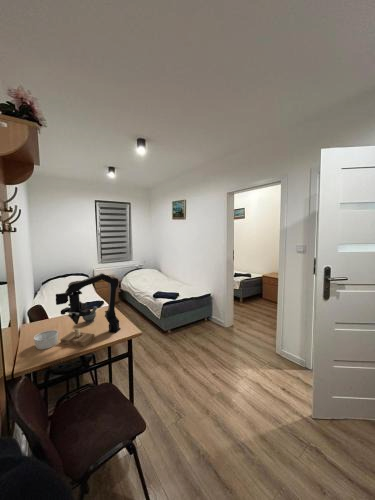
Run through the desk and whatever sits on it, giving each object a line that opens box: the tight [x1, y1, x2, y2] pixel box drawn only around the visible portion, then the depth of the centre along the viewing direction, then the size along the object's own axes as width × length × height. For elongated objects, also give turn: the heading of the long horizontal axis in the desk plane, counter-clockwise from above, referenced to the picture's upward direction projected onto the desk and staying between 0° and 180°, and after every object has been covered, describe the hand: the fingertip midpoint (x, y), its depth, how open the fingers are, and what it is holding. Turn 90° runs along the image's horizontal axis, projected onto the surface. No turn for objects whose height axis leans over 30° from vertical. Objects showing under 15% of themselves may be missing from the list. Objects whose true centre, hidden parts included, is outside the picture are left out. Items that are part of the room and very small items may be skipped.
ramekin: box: [33, 329, 59, 350], centre depth 134 cm, size 13×13×7 cm
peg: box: [74, 328, 81, 339], centre depth 138 cm, size 3×3×8 cm
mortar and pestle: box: [81, 306, 98, 325], centre depth 165 cm, size 11×9×12 cm
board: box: [59, 331, 95, 348], centre depth 138 cm, size 18×10×3 cm, turn 77°
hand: (76, 324), depth 137 cm, fingers closed
